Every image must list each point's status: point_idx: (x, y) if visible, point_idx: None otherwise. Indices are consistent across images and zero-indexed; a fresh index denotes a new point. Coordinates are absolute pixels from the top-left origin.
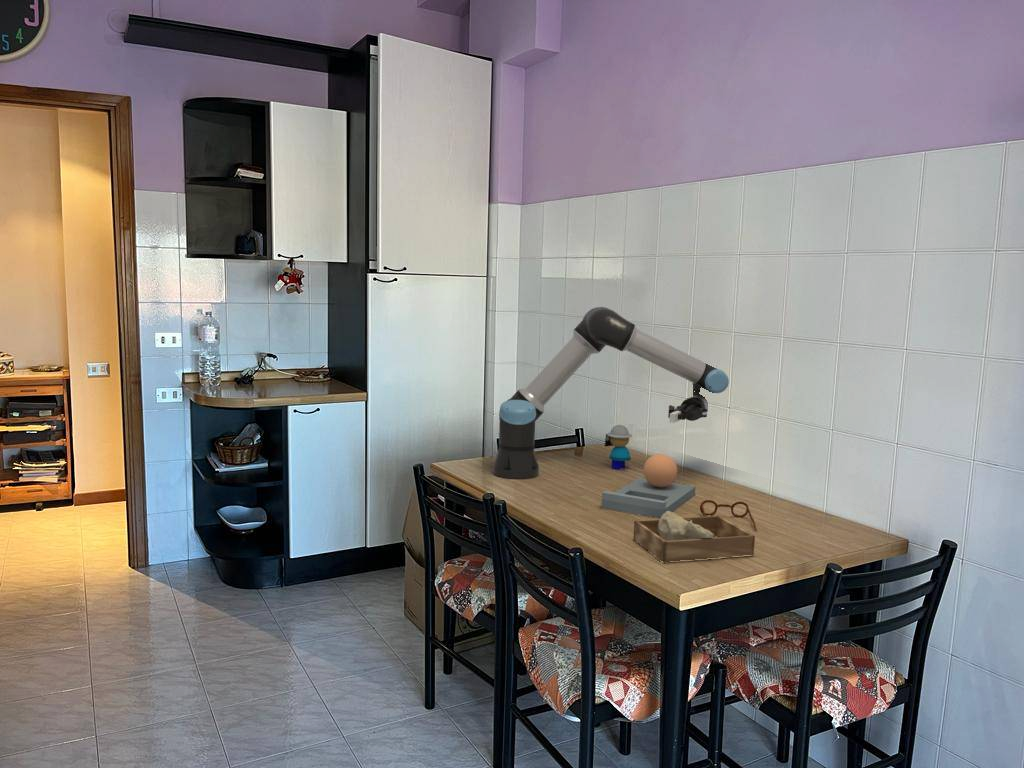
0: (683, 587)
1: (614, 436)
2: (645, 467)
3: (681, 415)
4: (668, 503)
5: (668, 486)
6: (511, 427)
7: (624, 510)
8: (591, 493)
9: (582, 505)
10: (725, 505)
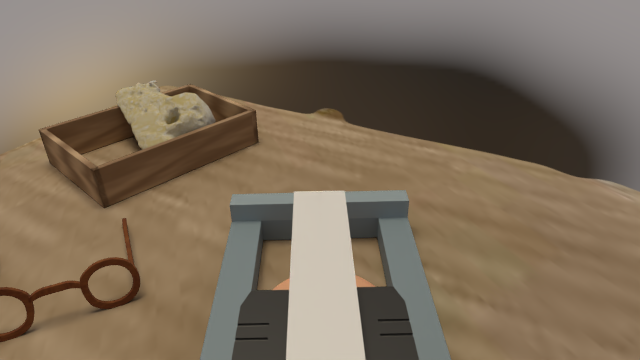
0: (163, 90)
1: None
2: None
3: (246, 303)
4: (234, 253)
5: None
6: None
7: None
8: (526, 309)
9: (451, 220)
10: (51, 287)
